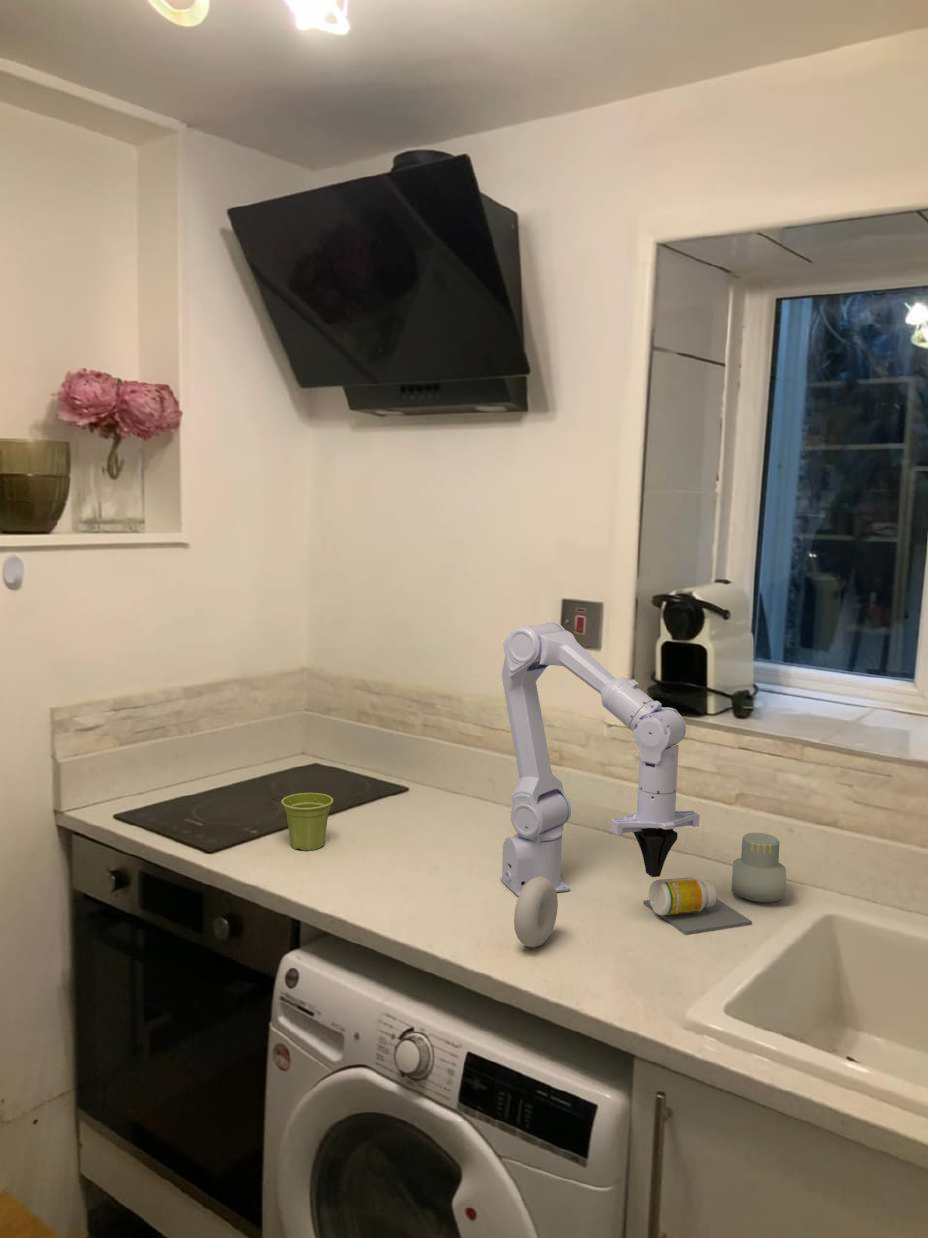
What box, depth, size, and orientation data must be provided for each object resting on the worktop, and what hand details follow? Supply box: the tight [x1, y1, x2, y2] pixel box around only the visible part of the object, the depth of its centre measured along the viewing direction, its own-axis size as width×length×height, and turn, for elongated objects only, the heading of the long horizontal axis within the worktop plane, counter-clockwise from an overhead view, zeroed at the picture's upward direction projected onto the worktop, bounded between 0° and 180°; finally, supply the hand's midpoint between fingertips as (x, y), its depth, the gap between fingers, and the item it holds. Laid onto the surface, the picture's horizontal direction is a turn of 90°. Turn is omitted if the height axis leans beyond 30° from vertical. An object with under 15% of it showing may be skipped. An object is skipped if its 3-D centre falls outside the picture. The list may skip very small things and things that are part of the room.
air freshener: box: [731, 832, 787, 904], centre depth 161 cm, size 11×8×10 cm
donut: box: [513, 877, 559, 948], centre depth 141 cm, size 10×4×10 cm, turn 149°
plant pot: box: [281, 792, 334, 852], centre depth 179 cm, size 9×9×9 cm
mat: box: [642, 898, 753, 936], centre depth 153 cm, size 12×12×1 cm
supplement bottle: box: [648, 877, 718, 916], centre depth 152 cm, size 5×5×10 cm
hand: (652, 874), depth 149 cm, fingers closed
